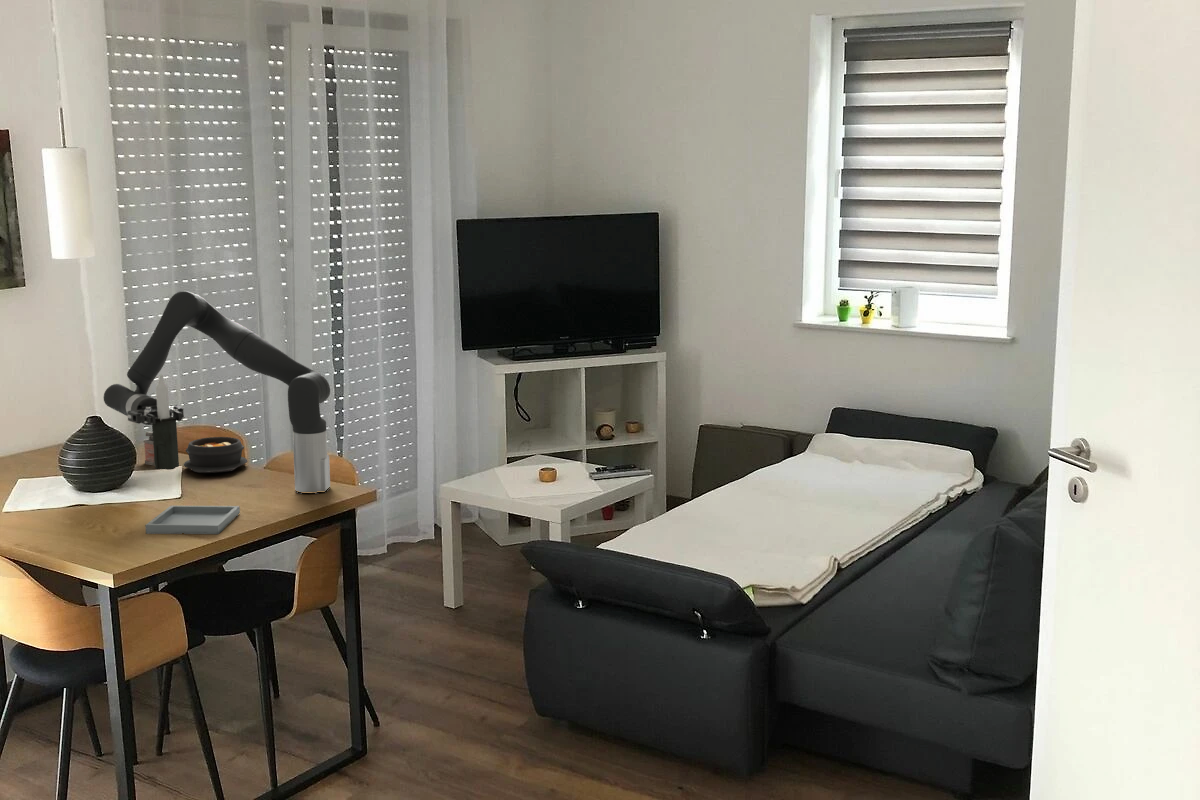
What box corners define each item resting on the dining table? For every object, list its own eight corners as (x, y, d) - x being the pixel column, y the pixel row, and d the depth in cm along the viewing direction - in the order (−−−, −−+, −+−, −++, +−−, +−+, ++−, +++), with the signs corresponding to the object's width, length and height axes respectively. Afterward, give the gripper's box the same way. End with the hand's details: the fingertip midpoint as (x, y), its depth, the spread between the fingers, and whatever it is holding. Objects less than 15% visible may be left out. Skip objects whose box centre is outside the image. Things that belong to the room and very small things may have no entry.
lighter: (170, 464, 369) (168, 432, 367) (162, 466, 366) (160, 434, 364) (150, 461, 372) (148, 430, 370) (142, 463, 369) (140, 432, 367)
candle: (180, 465, 319) (174, 372, 314) (172, 469, 314) (165, 375, 309) (162, 464, 320) (156, 372, 315) (153, 469, 315) (147, 375, 310)
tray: (239, 514, 315) (239, 506, 314) (218, 534, 297) (218, 525, 297) (171, 513, 315) (170, 505, 314) (145, 533, 297) (145, 524, 297)
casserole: (246, 476, 355) (245, 449, 353) (180, 480, 350) (179, 452, 348) (248, 458, 378) (247, 432, 377) (186, 461, 374) (185, 434, 372)
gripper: (116, 398, 320) (138, 407, 307) (169, 392, 329) (193, 401, 316) (118, 425, 321) (140, 436, 309) (171, 419, 330) (195, 429, 318)
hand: (167, 418), depth 312 cm, fingers closed on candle, 6 cm apart
